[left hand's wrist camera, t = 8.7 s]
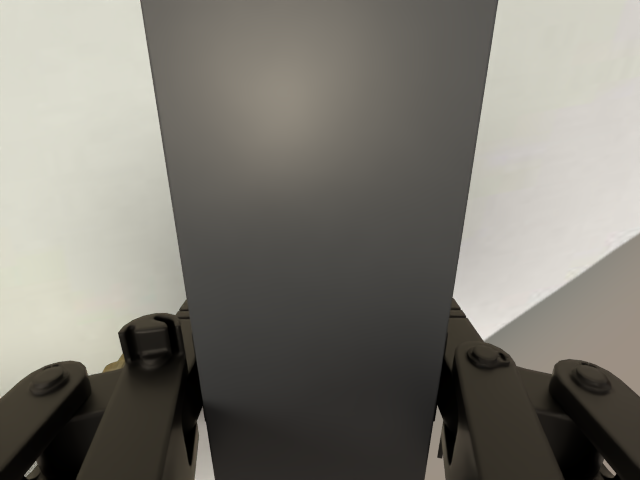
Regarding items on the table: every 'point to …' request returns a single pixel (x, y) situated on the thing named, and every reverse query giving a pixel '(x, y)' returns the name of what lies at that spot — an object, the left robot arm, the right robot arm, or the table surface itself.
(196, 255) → the bar
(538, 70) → the table surface
